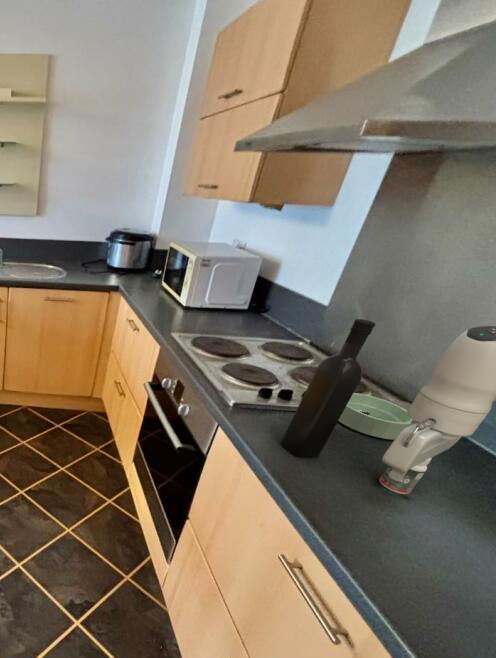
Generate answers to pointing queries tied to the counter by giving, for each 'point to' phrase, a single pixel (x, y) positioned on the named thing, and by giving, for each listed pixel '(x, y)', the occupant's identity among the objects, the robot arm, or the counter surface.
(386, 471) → the pill bottle
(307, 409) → the wine bottle
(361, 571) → the counter surface
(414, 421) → the robot arm
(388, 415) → the bowl
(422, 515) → the counter surface
